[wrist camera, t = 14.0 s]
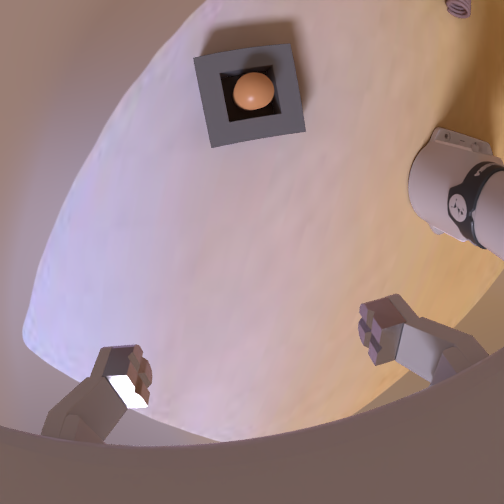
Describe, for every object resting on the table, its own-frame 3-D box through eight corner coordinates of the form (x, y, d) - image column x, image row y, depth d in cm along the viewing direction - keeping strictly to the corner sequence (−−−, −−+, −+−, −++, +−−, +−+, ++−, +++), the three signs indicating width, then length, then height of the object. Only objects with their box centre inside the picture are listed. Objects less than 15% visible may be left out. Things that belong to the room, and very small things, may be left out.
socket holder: (281, 52, 32) (290, 43, 27) (295, 129, 36) (305, 131, 32) (196, 65, 31) (193, 57, 27) (212, 144, 36) (211, 148, 32)
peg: (260, 79, 33) (270, 69, 26) (265, 108, 35) (277, 105, 28) (229, 84, 33) (231, 75, 26) (235, 113, 35) (238, 111, 28)
